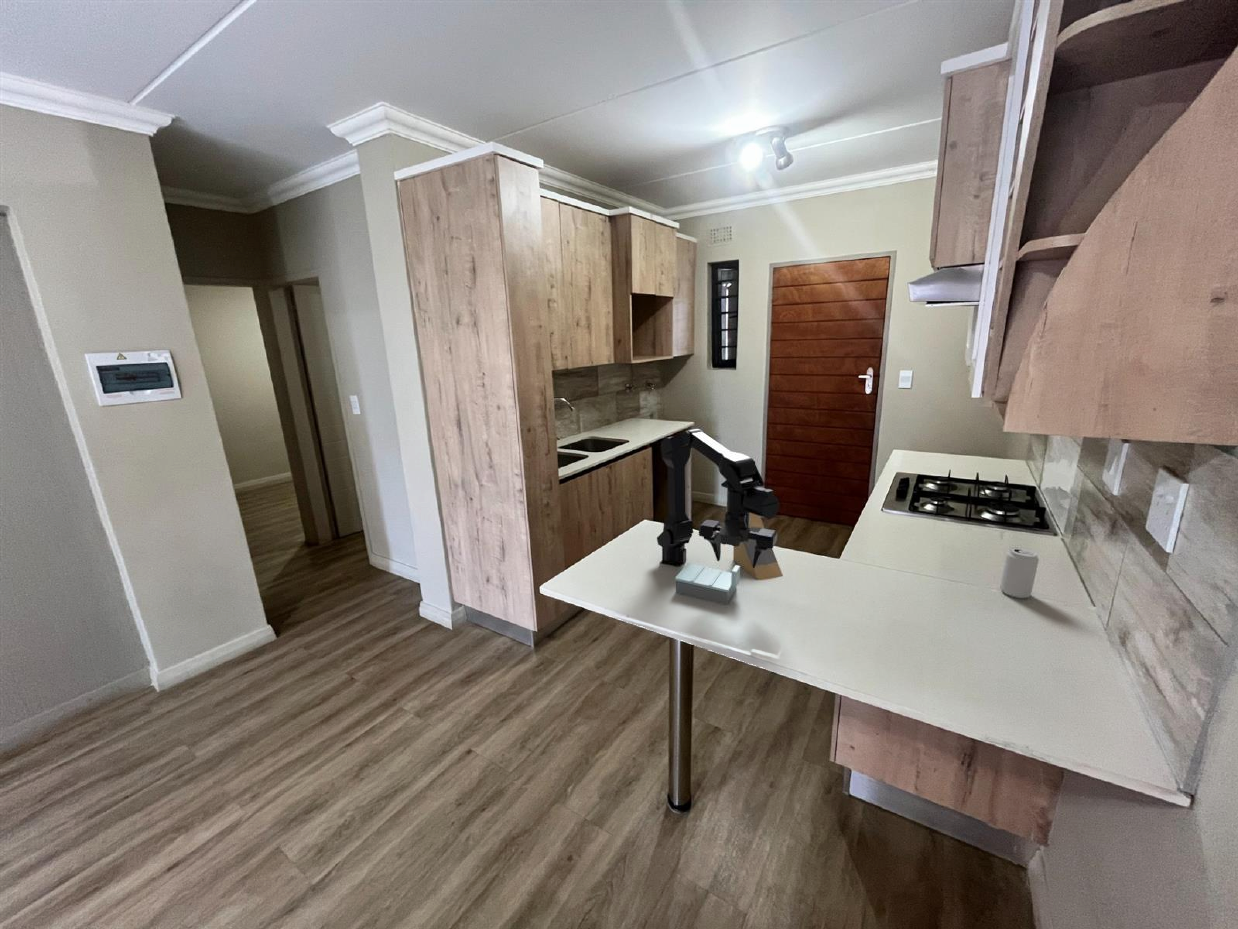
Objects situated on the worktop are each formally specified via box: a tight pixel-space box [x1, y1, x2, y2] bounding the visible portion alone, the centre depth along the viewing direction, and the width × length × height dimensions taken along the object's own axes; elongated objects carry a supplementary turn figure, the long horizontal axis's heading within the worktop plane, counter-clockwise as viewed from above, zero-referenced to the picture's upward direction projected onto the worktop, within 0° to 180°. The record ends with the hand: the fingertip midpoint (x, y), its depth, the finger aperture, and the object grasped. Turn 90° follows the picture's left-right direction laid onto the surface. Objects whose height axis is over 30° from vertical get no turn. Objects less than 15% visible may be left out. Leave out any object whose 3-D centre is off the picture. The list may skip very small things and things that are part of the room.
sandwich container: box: [732, 513, 784, 581], centre depth 141 cm, size 9×15×15 cm, turn 16°
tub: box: [675, 581, 738, 606], centre depth 130 cm, size 14×9×4 cm, turn 61°
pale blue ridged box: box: [674, 563, 741, 593], centre depth 128 cm, size 16×9×5 cm, turn 61°
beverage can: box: [999, 546, 1040, 599], centre depth 124 cm, size 6×6×12 cm
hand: (735, 564), depth 124 cm, fingers open, 9 cm apart
